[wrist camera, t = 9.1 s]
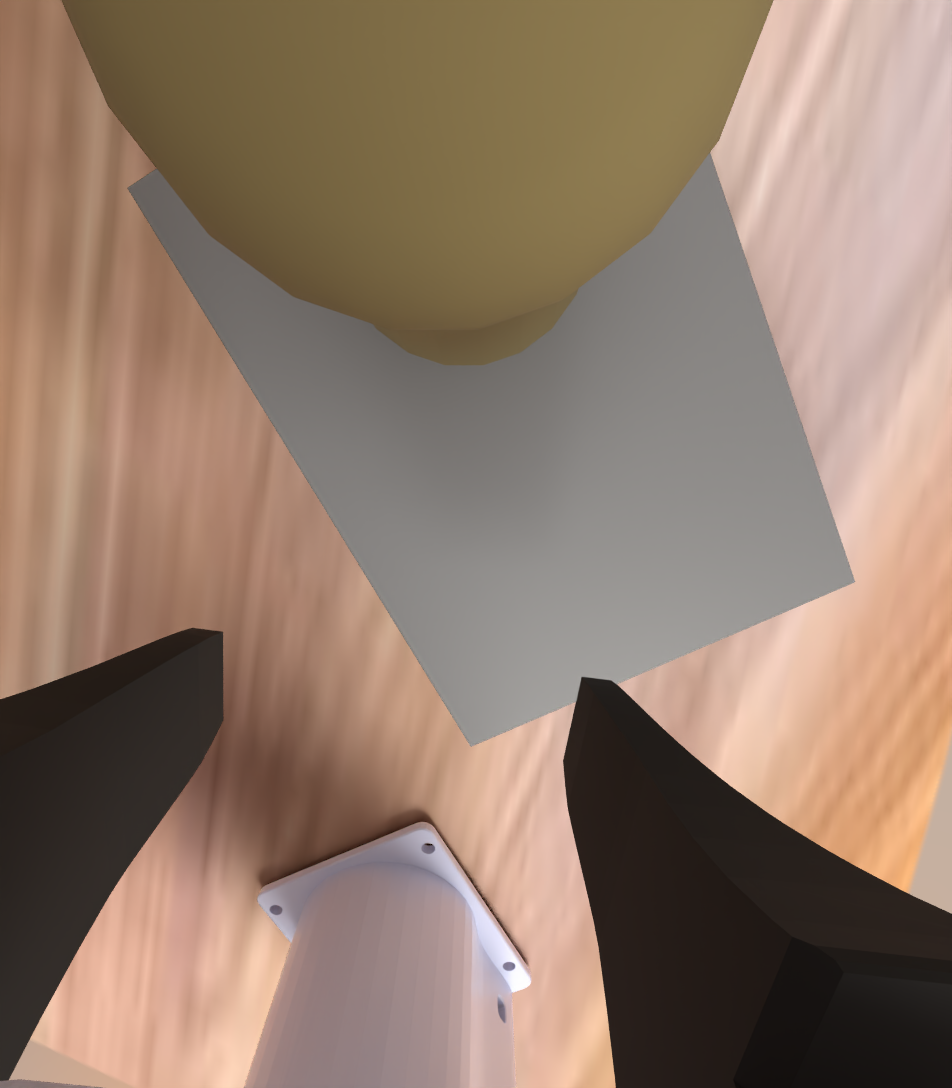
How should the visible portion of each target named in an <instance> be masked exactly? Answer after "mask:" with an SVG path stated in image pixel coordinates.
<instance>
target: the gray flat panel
mask: <svg viewBox="0 0 952 1088" xmlns="http://www.w3.org/2000/svg"><path fill="white" fill-rule="evenodd" d="M128 190H129V191H130V193H131V195H132V196H133V198H134V200H135V201H136V203H137V204H138V206H139V208H140V209H141V211H142V213H143V214H144V216H145V218H146V219H147V221H148V222H149V224H150V226H151V227H152V229H153V231H154V232H155V234H156V235H157V237H158V239H159V240H160V242H161V244H162V245H163V247H164V248H165V250H166V252H167V253H168V255H169V257H170V258H171V260H172V261H173V263H174V265H175V266H176V268H177V270H178V271H179V273H180V274H181V276H182V278H183V279H184V281H185V283H186V284H187V286H188V287H189V289H190V291H191V292H192V294H193V296H194V297H195V299H196V300H197V302H198V304H199V305H200V307H201V309H202V310H203V312H204V313H205V315H206V317H207V318H208V320H209V322H210V323H211V325H212V326H213V328H214V330H215V331H216V333H217V335H218V336H219V338H220V339H221V341H222V343H223V344H224V346H225V348H226V349H227V351H228V353H229V354H230V356H231V357H232V359H233V361H234V362H235V364H236V366H237V367H238V369H239V370H240V372H241V374H242V375H243V377H244V379H245V380H246V382H247V383H248V385H249V387H250V388H251V390H252V392H253V393H254V395H255V396H256V398H257V400H258V401H259V403H260V405H261V406H262V408H263V409H264V411H265V413H266V414H267V416H268V418H269V419H270V421H271V422H272V424H273V426H274V427H275V429H276V431H277V432H278V434H279V435H280V437H281V439H282V440H283V442H284V444H285V445H286V447H287V448H288V450H289V452H290V453H291V455H292V457H293V458H294V460H295V461H296V463H297V465H298V466H299V468H300V470H301V471H302V473H303V474H304V476H305V478H306V479H307V481H308V483H309V484H310V486H311V488H312V489H313V491H314V492H315V494H316V496H317V497H318V499H319V501H320V502H321V504H322V505H323V507H324V509H325V510H326V512H327V514H328V515H329V517H330V518H331V520H332V522H333V523H334V525H335V527H336V528H337V530H338V531H339V533H340V535H341V536H342V538H343V540H344V541H345V543H346V544H347V546H348V548H349V549H350V551H351V553H352V554H353V556H354V557H355V559H356V561H357V562H358V564H359V566H360V567H361V569H362V570H363V572H364V574H365V575H366V577H367V579H368V580H369V582H370V583H371V585H372V587H373V588H374V590H375V592H376V593H377V595H378V596H379V598H380V600H381V601H382V603H383V605H384V606H385V608H386V609H387V611H388V613H389V614H390V616H391V618H392V619H393V621H394V623H395V624H396V626H397V627H398V629H399V631H400V632H401V634H402V636H403V637H404V639H405V640H406V642H407V644H408V645H409V647H410V649H411V650H412V652H413V653H414V655H415V657H416V658H417V660H418V662H419V663H420V665H421V666H422V668H423V670H424V671H425V673H426V675H427V676H428V678H429V679H430V681H431V683H432V684H433V686H434V688H435V689H436V691H437V692H438V694H439V696H440V697H441V699H442V701H443V702H444V704H445V705H446V707H447V709H448V710H449V712H450V714H451V715H452V717H453V718H454V720H455V722H456V723H457V725H458V727H459V728H460V730H461V731H462V733H463V735H464V736H465V738H466V740H467V741H468V743H469V744H470V746H474V745H476V744H478V743H481V742H483V741H485V740H488V739H490V738H492V737H495V736H497V735H499V734H502V733H504V732H506V731H509V730H511V729H513V728H516V727H518V726H520V725H523V724H525V723H527V722H530V721H532V720H534V719H537V718H539V717H541V716H544V715H546V714H548V713H551V712H553V711H555V710H558V709H560V708H562V707H565V706H567V705H569V704H572V703H574V702H576V700H577V696H578V691H579V686H580V682H581V677H589V678H597V679H605V680H612V681H613V682H614V683H615V684H618V683H621V682H623V681H625V680H628V679H630V678H632V677H635V676H637V675H639V674H642V673H644V672H646V671H649V670H651V669H653V668H656V667H658V666H660V665H663V664H665V663H667V662H670V661H672V660H674V659H677V658H679V657H681V656H684V655H686V654H688V653H691V652H693V651H695V650H698V649H700V648H702V647H705V646H707V645H709V644H712V643H714V642H716V641H719V640H721V639H723V638H726V637H728V636H730V635H733V634H735V633H737V632H740V631H742V630H744V629H747V628H749V627H751V626H754V625H756V624H758V623H761V622H763V621H765V620H768V619H770V618H772V617H775V616H777V615H779V614H782V613H784V612H786V611H789V610H791V609H793V608H796V607H798V606H800V605H803V604H805V603H807V602H810V601H812V600H814V599H817V598H819V597H821V596H824V595H826V594H828V593H831V592H833V591H835V590H838V589H840V588H842V587H845V586H847V585H849V584H852V583H854V582H855V580H854V577H853V574H852V571H851V568H850V565H849V563H848V560H847V557H846V554H845V551H844V548H843V545H842V542H841V539H840V536H839V533H838V530H837V527H836V524H835V521H834V518H833V515H832V512H831V509H830V506H829V503H828V500H827V497H826V494H825V492H824V489H823V486H822V483H821V480H820V477H819V474H818V471H817V468H816V465H815V462H814V459H813V456H812V453H811V450H810V447H809V444H808V441H807V438H806V435H805V432H804V429H803V426H802V423H801V421H800V418H799V415H798V412H797V409H796V406H795V403H794V400H793V397H792V394H791V391H790V388H789V385H788V382H787V379H786V376H785V373H784V370H783V367H782V364H781V361H780V358H779V355H778V352H777V349H776V347H775V344H774V341H773V338H772V335H771V332H770V329H769V326H768V323H767V320H766V317H765V314H764V311H763V308H762V305H761V302H760V299H759V296H758V293H757V290H756V287H755V284H754V281H753V278H752V276H751V273H750V270H749V267H748V264H747V261H746V258H745V255H744V252H743V249H742V246H741V243H740V240H739V237H738V234H737V231H736V228H735V225H734V222H733V219H732V216H731V213H730V210H729V207H728V205H727V202H726V199H725V196H724V193H723V190H722V187H721V184H720V181H719V178H718V175H717V172H716V169H715V166H714V163H713V160H712V157H711V154H710V153H709V154H708V156H707V157H706V158H705V160H704V161H703V163H702V164H701V165H700V167H699V168H698V169H697V171H696V172H695V173H694V175H693V176H692V178H691V179H690V180H689V182H688V183H687V184H686V186H685V187H684V188H683V190H682V191H681V193H680V194H679V195H678V197H677V198H676V199H675V201H674V202H673V204H672V205H671V206H670V208H669V209H668V210H667V212H666V213H665V214H664V216H663V217H662V219H661V220H660V221H659V223H658V224H657V225H656V227H655V228H654V229H653V231H652V232H651V233H650V234H649V235H648V236H646V237H645V238H644V239H643V240H641V241H640V242H639V243H637V244H636V245H635V246H633V247H632V248H631V249H629V250H628V251H627V252H626V253H624V254H623V255H622V256H620V257H619V258H618V259H616V260H615V261H614V262H612V263H611V264H610V265H609V266H607V267H606V268H605V269H603V270H602V271H601V272H599V273H598V274H597V275H595V276H594V277H593V278H591V279H590V280H589V281H588V282H586V283H585V284H584V285H582V286H581V287H580V288H579V289H578V292H577V295H576V296H575V297H574V299H573V300H572V301H571V303H570V304H569V306H568V307H567V308H566V310H565V311H564V313H563V314H562V315H561V317H560V318H559V320H558V321H557V322H556V324H555V325H554V327H553V328H552V329H551V330H550V331H548V332H547V333H546V334H544V335H543V336H542V337H540V338H539V339H538V340H536V341H535V342H534V343H532V344H531V345H530V346H528V347H527V348H526V349H524V350H523V351H522V352H520V353H518V354H515V355H512V356H509V357H506V358H503V359H501V360H498V361H495V362H492V363H489V364H486V365H443V364H440V363H437V362H434V361H431V360H428V359H425V358H422V357H419V356H416V355H413V354H410V353H408V352H407V351H405V350H404V349H402V348H401V347H400V346H398V345H397V344H396V343H394V342H393V341H392V340H390V339H389V338H388V337H386V336H385V335H384V334H382V333H381V332H380V331H378V330H377V329H376V328H375V326H374V325H373V324H371V323H368V322H365V321H363V320H360V319H357V318H354V317H351V316H348V315H345V314H342V313H339V312H336V311H333V310H330V309H327V308H324V307H321V306H318V305H315V304H312V303H310V302H307V301H304V300H301V299H298V298H295V297H293V296H291V295H290V294H289V293H287V292H286V291H284V290H283V289H282V288H280V287H279V286H278V285H276V284H275V283H274V282H272V281H271V280H269V279H268V278H267V277H265V276H264V275H263V274H261V273H260V272H259V271H257V270H256V269H254V268H253V267H252V266H250V265H249V264H248V263H246V262H245V261H244V260H242V259H241V258H239V257H238V256H237V255H235V254H234V253H233V252H231V251H230V250H229V249H227V248H226V247H225V246H223V245H222V244H220V243H219V242H218V241H216V240H215V239H214V238H212V237H211V236H210V235H209V234H208V233H207V232H206V231H205V229H204V228H203V227H202V226H201V224H200V223H199V222H198V220H197V219H196V218H195V217H194V215H193V214H192V213H191V211H190V210H189V209H188V208H187V206H186V205H185V204H184V203H183V201H182V200H181V199H180V197H179V196H178V195H177V194H176V192H175V191H174V190H173V188H172V187H171V186H170V185H169V183H168V182H167V181H166V179H165V178H164V177H163V176H162V174H161V173H160V172H159V170H158V169H155V170H154V171H152V172H151V173H149V174H148V175H146V176H145V177H143V178H142V179H140V180H139V181H137V182H136V183H134V184H133V185H131V186H130V187H128Z"/></svg>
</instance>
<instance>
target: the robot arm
mask: <svg viewBox="0 0 952 1088" xmlns="http://www.w3.org/2000/svg"><path fill="white" fill-rule="evenodd" d="M222 722H223V632H220V631H212V630H204V629H196V628H191V629H187V630H184V631H181V632H178V633H175V634H172V635H169V636H167V637H164V638H162V639H159V640H157V641H154V642H152V643H149V644H147V645H144V646H142V647H140V648H137V649H135V650H132V651H130V652H127V653H125V654H122V655H120V656H117V657H115V658H113V659H110V660H108V661H105V662H103V663H100V664H98V665H95V666H93V667H90V668H88V669H85V670H82V671H79V672H77V673H74V674H71V675H69V676H66V677H63V678H61V679H58V680H55V681H52V682H50V683H47V684H44V685H42V686H39V687H36V688H34V689H31V690H28V691H25V692H22V693H19V694H16V695H13V696H10V697H6V698H3V699H0V1088H101V1087H90V1086H81V1085H70V1084H60V1083H51V1082H41V1081H31V1080H9V1078H10V1076H11V1074H12V1072H13V1071H14V1068H15V1066H16V1065H17V1063H18V1061H19V1059H20V1057H21V1055H22V1053H23V1051H24V1049H25V1047H26V1045H27V1043H28V1041H29V1040H30V1038H31V1036H32V1034H33V1032H34V1030H35V1028H36V1026H37V1024H38V1022H39V1020H40V1018H41V1017H42V1015H43V1013H44V1011H45V1009H46V1007H47V1006H48V1004H49V1002H50V1000H51V998H52V996H53V995H54V993H55V991H56V989H57V987H58V986H59V984H60V982H61V980H62V978H63V976H64V975H65V973H66V971H67V969H68V967H69V965H70V964H71V962H72V960H73V958H74V956H75V954H76V953H77V951H78V949H79V947H80V946H81V944H82V942H83V940H84V939H85V937H86V935H87V934H88V932H89V930H90V928H91V927H92V925H93V923H94V921H95V920H96V918H97V916H98V914H99V913H100V911H101V909H102V908H103V906H104V904H105V902H106V901H107V899H108V897H109V895H110V894H111V892H112V891H113V889H114V888H115V886H116V885H117V883H118V881H119V880H120V878H121V877H122V875H123V874H124V872H125V871H126V869H127V868H128V866H129V865H130V863H131V862H132V861H133V859H134V858H135V856H136V855H137V854H138V852H139V851H140V849H141V848H142V847H143V845H144V844H145V842H146V841H147V840H148V838H149V837H150V835H151V834H152V833H153V831H154V830H155V828H156V827H157V825H158V824H159V823H160V821H161V820H162V818H163V817H164V816H165V814H166V813H167V811H168V810H169V809H170V807H171V806H172V804H173V803H174V802H175V800H176V799H177V797H178V796H179V794H180V793H181V792H182V790H183V789H184V787H185V786H186V784H187V783H188V782H189V780H190V779H191V777H192V776H193V774H194V773H195V771H196V770H197V768H198V767H199V765H200V764H201V762H202V760H203V758H204V757H205V755H206V753H207V751H208V749H209V747H210V745H211V744H212V742H213V740H214V738H215V736H216V734H217V732H218V730H219V728H220V726H221V724H222ZM563 764H564V775H565V787H566V796H567V805H568V811H569V816H570V820H571V825H572V829H573V834H574V838H575V843H576V847H577V851H578V856H579V860H580V864H581V868H582V873H583V877H584V881H585V886H586V890H587V894H588V898H589V903H590V907H591V911H592V916H593V920H594V925H595V931H596V936H597V941H598V946H599V953H600V961H601V968H602V976H603V983H604V991H605V998H606V1006H607V1014H608V1023H609V1031H610V1040H611V1048H612V1057H613V1065H614V1074H615V1083H616V1088H952V914H951V913H949V912H947V911H944V910H942V909H940V908H938V907H936V906H934V905H931V904H929V903H927V902H925V901H923V900H920V899H918V898H916V897H914V896H912V895H910V894H908V893H906V892H904V891H902V890H900V889H898V888H896V887H894V886H892V885H890V884H888V883H887V882H885V881H883V880H881V879H879V878H877V877H875V876H873V875H871V874H869V873H867V872H866V871H864V870H862V869H860V868H858V867H856V866H854V865H853V864H851V863H849V862H847V861H845V860H844V859H842V858H840V857H838V856H837V855H835V854H833V853H831V852H829V851H828V850H826V849H824V848H823V847H821V846H819V845H818V844H816V843H815V842H813V841H811V840H810V839H808V838H806V837H805V836H803V835H802V834H800V833H798V832H797V831H795V830H793V829H792V828H790V827H789V826H787V825H785V824H784V823H782V822H781V821H779V820H778V819H776V818H775V817H773V816H772V815H770V814H769V813H767V812H766V811H764V810H763V809H762V808H760V807H759V806H757V805H756V804H755V803H753V802H752V801H750V800H749V799H748V798H746V797H745V796H743V795H742V794H741V793H739V792H738V791H736V790H735V789H734V788H732V787H731V786H730V785H728V784H727V783H726V782H725V781H723V780H722V779H721V778H719V777H718V776H717V775H716V774H714V773H713V772H712V771H711V770H710V769H708V768H707V767H706V766H705V765H704V764H702V763H701V762H700V761H699V760H698V759H696V758H695V757H694V756H693V755H692V754H691V753H689V752H688V751H687V750H686V749H685V748H684V747H683V746H681V745H680V744H679V743H678V742H677V741H676V740H675V739H674V738H673V737H671V736H670V735H669V734H668V733H667V732H666V731H665V730H664V729H663V728H662V727H661V726H660V725H659V724H658V723H657V722H655V721H654V720H653V719H652V718H651V717H650V716H649V715H648V714H647V713H646V712H645V711H644V710H643V709H642V708H641V707H640V706H639V705H638V704H637V703H636V702H635V701H634V700H633V699H632V698H631V697H630V696H629V695H627V694H626V693H625V692H624V691H623V690H622V689H621V688H620V687H619V686H618V685H617V684H615V683H614V682H613V681H612V680H605V679H597V678H589V677H581V682H580V686H579V691H578V696H577V700H576V705H575V709H574V714H573V718H572V723H571V728H570V732H569V737H568V741H567V746H566V750H565V755H564V760H563ZM426 843H430V844H433V845H430V846H428V845H425V844H426ZM257 901H258V903H259V905H260V906H261V907H262V909H263V910H264V911H265V912H266V913H267V915H268V916H269V917H270V918H271V919H272V921H273V922H274V923H275V924H276V925H277V927H278V928H279V929H280V930H281V931H282V933H283V934H284V935H285V936H286V938H287V939H288V940H289V941H290V942H291V945H290V948H289V951H288V954H287V957H286V960H285V963H284V966H283V970H282V973H281V976H280V979H279V982H278V985H277V988H276V991H275V994H274V997H273V1000H272V1003H271V1006H270V1009H269V1012H268V1015H267V1018H266V1021H265V1025H264V1028H263V1031H262V1034H261V1037H260V1040H259V1043H258V1046H257V1049H256V1052H255V1055H254V1058H253V1061H252V1064H251V1067H250V1070H249V1073H248V1076H247V1080H246V1083H245V1086H244V1088H516V1070H515V1049H514V1027H513V1006H512V993H513V992H516V991H519V990H521V989H524V988H526V987H528V986H529V985H530V983H531V972H530V969H529V968H528V966H527V965H526V963H525V962H524V960H523V959H522V957H521V956H520V954H519V953H518V951H517V950H516V949H515V947H514V946H513V944H512V943H511V941H510V940H509V938H508V937H507V935H506V934H505V932H504V931H503V929H502V928H501V926H500V925H499V923H498V922H497V920H496V919H495V917H494V916H493V914H492V913H491V911H490V910H489V908H488V907H487V905H486V904H485V902H484V901H483V899H482V898H481V896H480V895H479V893H478V892H477V890H476V889H475V888H474V886H473V885H472V883H471V882H470V880H469V879H468V877H467V876H466V874H465V873H464V871H463V870H462V868H461V867H460V865H459V864H458V862H457V861H456V859H455V858H454V856H453V855H452V853H451V852H450V850H449V849H448V847H447V846H446V844H445V843H444V841H443V840H442V838H441V837H440V835H439V834H438V832H437V831H436V829H435V828H434V827H433V826H432V825H431V824H429V823H427V822H418V823H415V824H413V825H410V826H408V827H406V828H403V829H401V830H398V831H396V832H393V833H391V834H389V835H386V836H384V837H381V838H379V839H376V840H374V841H372V842H369V843H367V844H364V845H362V846H359V847H357V848H355V849H352V850H350V851H347V852H345V853H342V854H340V855H338V856H335V857H333V858H330V859H328V860H326V861H323V862H321V863H318V864H316V865H313V866H311V867H309V868H306V869H304V870H301V871H299V872H296V873H294V874H292V875H289V876H287V877H284V878H282V879H279V880H277V881H275V882H272V883H270V884H267V885H265V886H264V887H262V888H261V890H260V892H259V895H258V897H257Z"/></svg>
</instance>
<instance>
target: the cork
mask: <svg viewBox="0 0 952 1088" xmlns="http://www.w3.org/2000/svg"><path fill="white" fill-rule="evenodd" d="M62 2H63V5H64V7H65V9H66V12H67V14H68V16H69V18H70V21H71V23H72V25H73V27H74V30H75V32H76V34H77V36H78V39H79V41H80V43H81V46H82V48H83V50H84V52H85V55H86V57H87V59H88V61H89V64H90V66H91V68H92V70H93V73H94V75H95V77H96V79H97V82H98V84H99V86H100V89H101V91H102V93H103V95H104V98H105V100H106V102H107V104H108V106H109V108H110V109H111V110H112V111H113V113H114V114H115V115H116V117H117V118H118V119H119V120H120V122H121V123H122V124H123V126H124V127H125V128H126V129H127V131H128V132H129V133H130V135H131V136H132V137H133V138H134V140H135V141H136V142H137V144H138V145H139V146H140V147H141V149H142V150H143V151H144V152H145V154H146V155H147V156H148V158H149V159H150V160H151V161H152V163H153V164H154V165H155V167H156V168H157V169H158V170H159V172H160V173H161V174H162V176H163V177H164V178H165V179H166V181H167V182H168V183H169V185H170V186H171V187H172V188H173V190H174V191H175V192H176V194H177V195H178V196H179V197H180V199H181V200H182V201H183V203H184V204H185V205H186V206H187V208H188V209H189V210H190V211H191V213H192V214H193V215H194V217H195V218H196V219H197V220H198V222H199V223H200V224H201V226H202V227H203V228H204V229H205V231H206V232H207V233H208V234H209V235H210V236H211V237H212V238H214V239H215V240H216V241H218V242H219V243H220V244H222V245H223V246H225V247H226V248H227V249H229V250H230V251H231V252H233V253H234V254H235V255H237V256H238V257H239V258H241V259H242V260H244V261H245V262H246V263H248V264H249V265H250V266H252V267H253V268H254V269H256V270H257V271H259V272H260V273H261V274H263V275H264V276H265V277H267V278H268V279H269V280H271V281H272V282H274V283H275V284H276V285H278V286H279V287H280V288H282V289H283V290H284V291H286V292H287V293H289V294H290V295H291V296H293V297H295V298H298V299H301V300H304V301H307V302H310V303H312V304H315V305H318V306H321V307H324V308H327V309H330V310H333V311H336V312H339V313H342V314H345V315H348V316H351V317H354V318H357V319H360V320H363V321H365V322H368V323H371V324H373V325H374V326H375V328H376V329H377V330H378V331H380V332H381V333H382V334H384V335H385V336H386V337H388V338H389V339H390V340H392V341H393V342H394V343H396V344H397V345H398V346H400V347H401V348H402V349H404V350H405V351H407V352H408V353H410V354H413V355H416V356H419V357H422V358H425V359H428V360H431V361H434V362H437V363H440V364H443V365H486V364H489V363H492V362H495V361H498V360H501V359H503V358H506V357H509V356H512V355H515V354H518V353H520V352H522V351H523V350H524V349H526V348H527V347H528V346H530V345H531V344H532V343H534V342H535V341H536V340H538V339H539V338H540V337H542V336H543V335H544V334H546V333H547V332H548V331H550V330H551V329H552V328H553V327H554V325H555V324H556V322H557V321H558V320H559V318H560V317H561V315H562V314H563V313H564V311H565V310H566V308H567V307H568V306H569V304H570V303H571V301H572V300H573V299H574V297H575V296H576V295H577V292H578V289H579V288H580V287H581V286H582V285H584V284H585V283H586V282H588V281H589V280H590V279H591V278H593V277H594V276H595V275H597V274H598V273H599V272H601V271H602V270H603V269H605V268H606V267H607V266H609V265H610V264H611V263H612V262H614V261H615V260H616V259H618V258H619V257H620V256H622V255H623V254H624V253H626V252H627V251H628V250H629V249H631V248H632V247H633V246H635V245H636V244H637V243H639V242H640V241H641V240H643V239H644V238H645V237H646V236H648V235H649V234H650V233H651V232H652V231H653V229H654V228H655V227H656V225H657V224H658V223H659V221H660V220H661V219H662V217H663V216H664V214H665V213H666V212H667V210H668V209H669V208H670V206H671V205H672V204H673V202H674V201H675V199H676V198H677V197H678V195H679V194H680V193H681V191H682V190H683V188H684V187H685V186H686V184H687V183H688V182H689V180H690V179H691V178H692V176H693V175H694V173H695V172H696V171H697V169H698V168H699V167H700V165H701V164H702V163H703V161H704V160H705V158H706V157H707V156H708V154H709V153H710V152H711V150H712V149H713V148H714V146H715V145H716V143H717V142H718V141H719V139H720V136H721V134H722V131H723V129H724V126H725V123H726V121H727V118H728V116H729V113H730V111H731V108H732V106H733V103H734V101H735V98H736V95H737V93H738V90H739V88H740V85H741V83H742V80H743V77H744V75H745V72H746V70H747V67H748V65H749V62H750V59H751V57H752V54H753V52H754V49H755V47H756V44H757V41H758V39H759V36H760V34H761V31H762V29H763V26H764V23H765V21H766V18H767V16H768V13H769V11H770V8H771V5H772V3H773V0H62Z"/></svg>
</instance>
